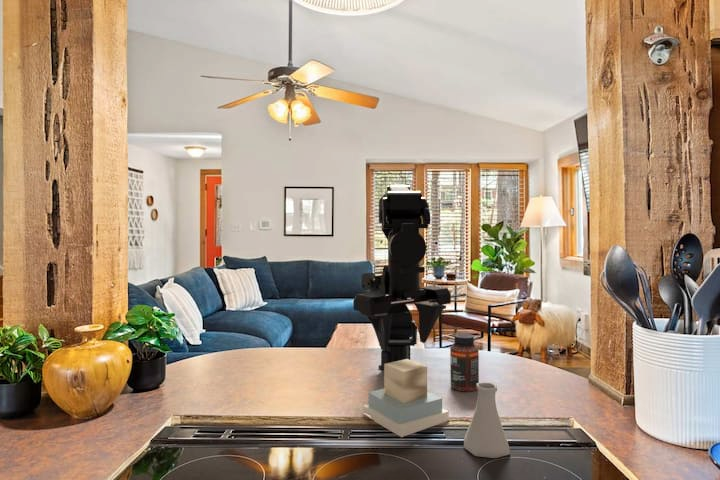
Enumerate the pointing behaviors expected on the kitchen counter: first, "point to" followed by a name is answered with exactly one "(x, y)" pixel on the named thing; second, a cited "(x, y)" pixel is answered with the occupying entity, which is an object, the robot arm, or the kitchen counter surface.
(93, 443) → the kitchen counter surface
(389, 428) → the bottom block
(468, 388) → the supplement bottle
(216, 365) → the kitchen counter surface
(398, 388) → the maple cube
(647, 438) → the kitchen counter surface
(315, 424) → the kitchen counter surface
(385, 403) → the top block
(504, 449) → the flask
